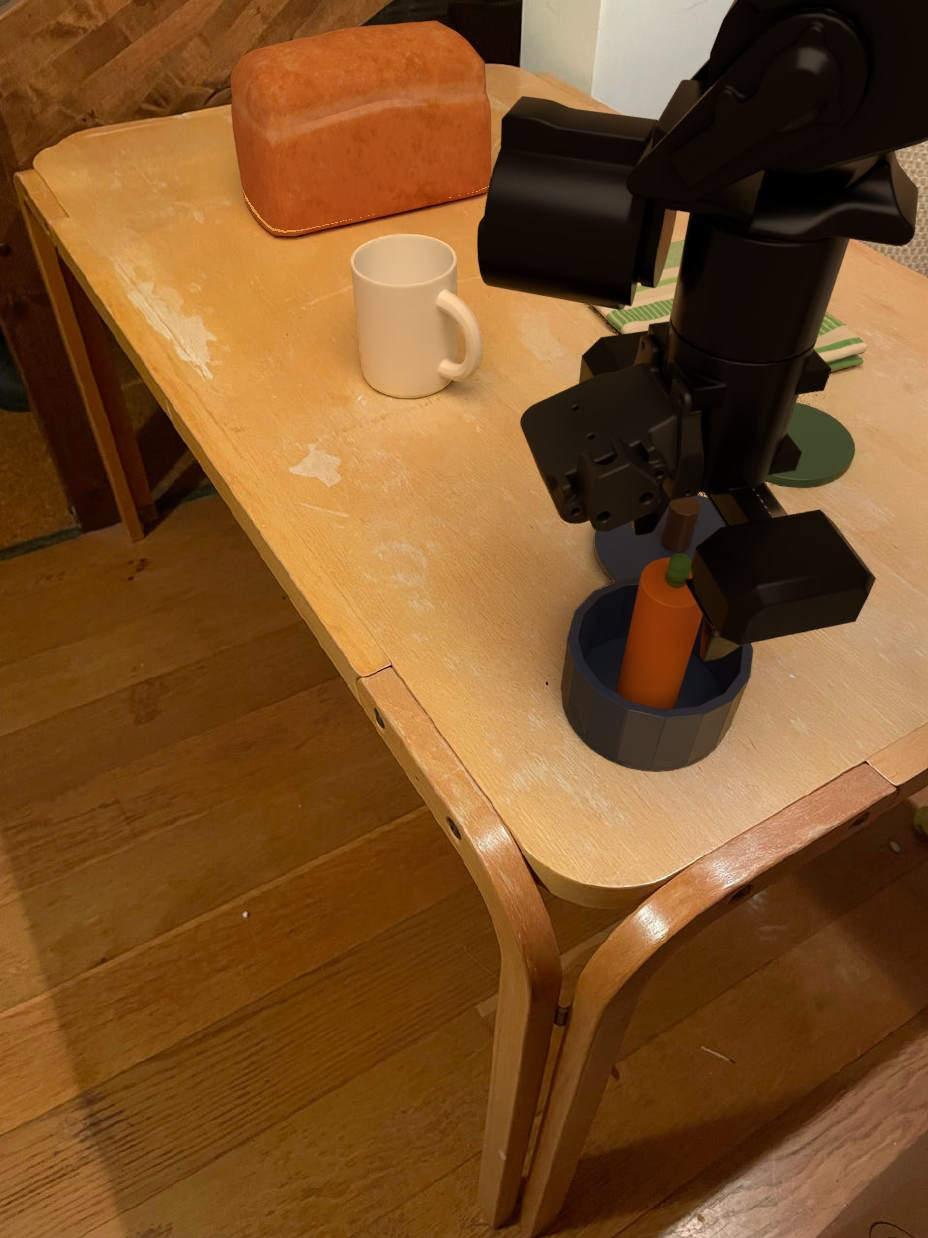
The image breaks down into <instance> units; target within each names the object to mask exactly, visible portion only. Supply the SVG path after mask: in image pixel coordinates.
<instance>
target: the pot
mask: <svg viewBox="0 0 928 1238" xmlns="http://www.w3.org/2000/svg"><path fill="white" fill-rule="evenodd" d="M640 578H641V577H636V578H624V579H620V580H618V581H616V582H614V581H612V582H611V583H609V584H607V585H604V586H602V587H599V588H597V589H596V590H593V591H592V592H591V593H590V594H589V595H588V597H586V598H585V599H584V600H583V602H581V604H579V606H577V608H576V609H575V610H574V612H573V615H572V618H571V623H570V626H569V629H568V633H567V638H566V644H565V652H564V660H563V667H562V674H561V681H560V682H561V683H560V693H561V704H562V708H563V711H564V715H565V718H566V720H567V722H568V723H569V725H570V727H571V729H572V730H573V732H574V733H575V735H577V737H578V738H579V739H580V740H581V741H582V743H584V744H585V745H586V746H587V747H588V748H589V749H590V750H592V751H593V752H595V753H596V754H598V755H599V756H601V757H603V758H604V759H606V760H608V761H610V762H612V763H614V764H616V765H618V766H622V767H625V768H629V769H633V770H637V771H643V772H654V773H656V772H670V771H675V770H680V769H684V768H688V767H690V766H692V765H694V764H696V763H699V762H701V761H702V760H704V759H705V758H707V757H708V756H710V755H711V754H712V753H713V752H714V751H715V750H716V749H717V748H718V747H719V745H720V744H721V743H722V742H723V740H724V738H725V736H726V734H727V732H728V731H729V730H730V728H731V726H732V724H733V721H734V718H735V716H736V714H737V711H738V709H739V707H740V703H741V702H742V699H743V696H744V693H745V692H746V689H747V686H748V684H749V681H750V678H751V676H752V667H753V657H754V656H753V655H754V646H753V643H749V644H744V645H741V646H739V647H738V648H736V649H735V650H733V651H732V652H730V653H729V654H728V655H726V656H725V657H723V658H721V659H716V660H712V661H706V662H705V661H703V660H702V658H701V656H700V645H701V634H702V628H703V622H704V615H703V616H702V619H701V622H700V626H699V629H698V632H697V635H696V639H695V642H694V645H693V649H692V652H691V655H690V658H689V662H688V665H687V668H686V671H685V675H684V678H683V681H682V685H681V688H680V691H679V694H678V698H677V701H676V704H675V706H674V708H673V709H666V710H664V709H660V708H656V707H651V706H647V705H642V704H638V703H634V702H630V701H629V700H627V699H625V698H624V697H622V696H620V695H619V694H617V685H618V681H619V676H620V671H621V667H622V662H623V657H624V653H625V648H626V643H627V639H628V634H629V629H630V625H631V620H632V616H633V611H634V606H635V602H636V597H637V592H638V588H639V583H640Z"/></svg>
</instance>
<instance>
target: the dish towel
mask: <svg viewBox="0 0 928 1238" xmlns="http://www.w3.org/2000/svg"><path fill="white" fill-rule="evenodd" d="M684 240H685V239H682V240H676V241H671V244H670V248H669V252H668V256H667V259H666V263H665V266H664V269H663V272H662V275H661V278H660V281H659V283H658V285H657V287H656V288H649V287H644V286H641V283H637V289H636V293H635V297H634V301H633V304H632V306H625V307H624V308H623V309H622V310H617V309H612V308H606V307H601V306H595V305H592V307H594V308H595V309H596V310H597V312H599V313H600V315H601V316H602V317H603V318H604V319H605V320H606V321H607V322H608V323H609V325H611V326H612V327H613V329H615V330H617V332H618V333H620V334H627V333H634V332H641V331H648V327H649V324H653V323H660V322H667V321H669V320H670V315H671V310H672V305H673V300H674V294H675V289H676V283H677V278H678V273H679V267H680V262H681V257H682V251H683V246H684ZM867 348H868V345H867V343H866V342H864V341H863V340H862V338H861V337H860V336H859V334H858V332H857V331H855V330H854V329H853V328H850V326H848V325H847V324H846V323H844V322H842V321H841V320H840V319H838V318H836V317H835V316H833V315H832V314H830V313H829V312H828V311H826V313H825V316H824V319H823V322H822V325H821V328H820V331H819V334H818V337H817V341H816V344H815V347H814V350H815V351H816V352H817V353H818V354H819V355H820V356H821V358H822V359H823V360H824V361H825V362H826V363H827V364H828V365H829V366H830V368H831V372H835V371H839V370H842V369H846V368H850V367H854V366H858V365H859V366H860V365H862V364H864V362H865V361H864V359H863V357H862V356H860V355H863V354H864V353H866V352H867ZM831 372H830V373H831Z"/></svg>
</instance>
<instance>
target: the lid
mask: <svg viewBox="0 0 928 1238" xmlns="http://www.w3.org/2000/svg"><path fill="white" fill-rule="evenodd" d="M721 527H725V524H724V523H723V521H722V520H721V518H720V516H719V515H718V513H717V512H716V510H715V509H714V507H713V505H712V504H711V502H710V501H709V499H708V498H707V496H705V495H701V494H698V495H696V496H692V497H687V498H681V499H675V500H671V502H670V504H669V506H668V508H667V510H666V512H665V514H664V515H663V517H662V519H661V520H660V522H659V523H658V525H657V527H656V528H655V530H654V531H653V532H652V533H649V534H644V535H635V533H634V531H633V529H632V522H629V523H627V524H624V525H622V526H620V527H618V528H615V529H613V530H611V531H608V532H602V531H596V530H594V536H593V548H594V553H595V556H596V559H597V561H598V563H599V565H600V567H601V568H602V570H603V571H604V573H606V575H607V576H608V577H609V578H610V580H612V582H616V581H618V580H620V579H624V578H636V577H641V574H642V572H643V570H644V568H645V567H646V566H647V565H648V564H650V563H651V562H653V561H655V560H657V559H661V558H669V557H672V556H674V555H676V554H685V555H687V556H688V557H689V558H690V560H691V562H692V558H693V555H694V551H695V547H697V546H698V545H699V544H700V543H702V542H703V541H704V540H705V539H707V538H708V537H709V536H711V535H712V534H713V533H714V532H716V531H717V530H718V529H719V528H721Z"/></svg>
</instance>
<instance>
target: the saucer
mask: <svg viewBox="0 0 928 1238" xmlns="http://www.w3.org/2000/svg"><path fill="white" fill-rule="evenodd" d="M787 433H788V435H789V436H790V437H791V439H792V440H793V441H794V442H795V444H796V445H797V446H798V448H799V449H800V450H801V451H802V454H801V457H800V460H799V463H798V465H797V468H796V471H790V472H785V473H779V474H773V475H768V476H767V478H766V481H765V483H769V484H773V485H777V486H782V487H789V488H813V487H814V488H815V487H820V486H824V485H827V484H830V483H833V482H835V481H837V480H839V479H840V478H841V477H843V476H844V475H845V474H846V473H847V471H848V470H849V469H850V467H851V465H852V463H853V460H854V457H855V453H856V446H855V445H856V443H855V441H854V438H853V436H852V434H851V432H850V431H849V430H848V428H847V427H845V425H844V424H842V422H841V421H839V420H838V419H837V418H835V417H834V416H832V415H831V414H829V413H828V412H825V411H824V410H821V409H819V408H817V407H814V406H811V405H808V404H805V403H801V402H797V401H796V404H795V407H794V411H793V414H792V417H791V420H790V423H789V426H788V429H787Z"/></svg>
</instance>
